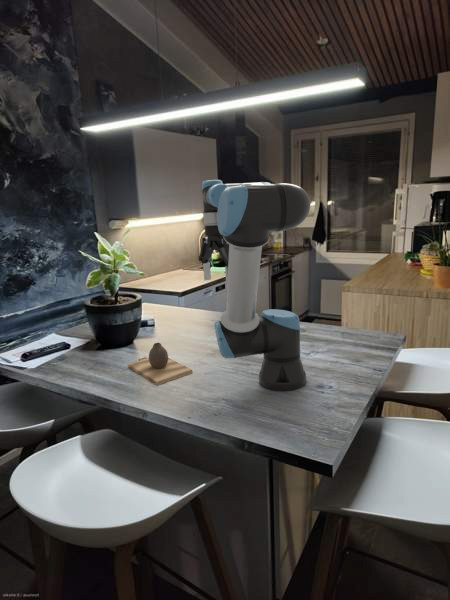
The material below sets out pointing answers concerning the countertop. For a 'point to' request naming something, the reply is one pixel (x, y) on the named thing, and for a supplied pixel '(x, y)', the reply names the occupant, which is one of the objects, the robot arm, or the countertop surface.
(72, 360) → the countertop surface
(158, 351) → the vase
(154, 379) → the board
